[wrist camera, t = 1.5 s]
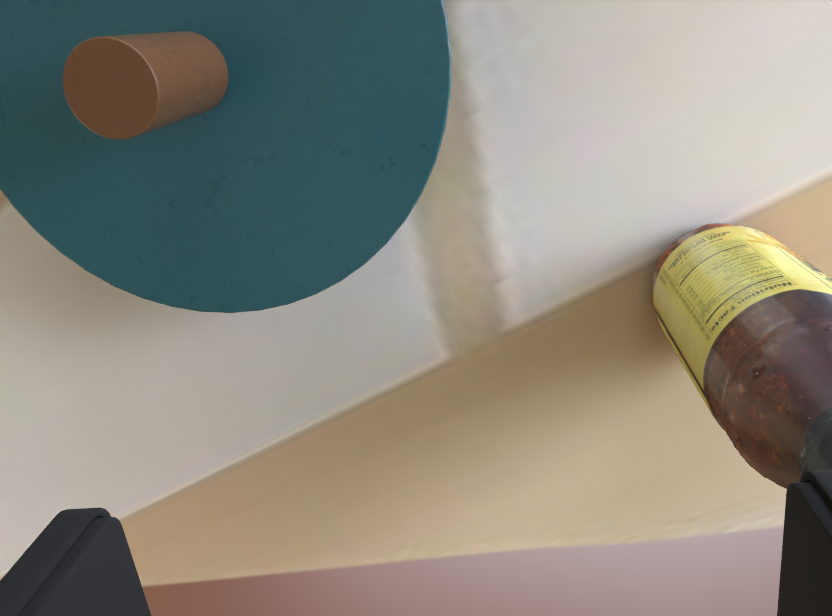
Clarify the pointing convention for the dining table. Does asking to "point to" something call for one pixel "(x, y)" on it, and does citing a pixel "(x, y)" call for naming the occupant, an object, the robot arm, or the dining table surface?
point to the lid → (220, 138)
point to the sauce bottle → (753, 343)
